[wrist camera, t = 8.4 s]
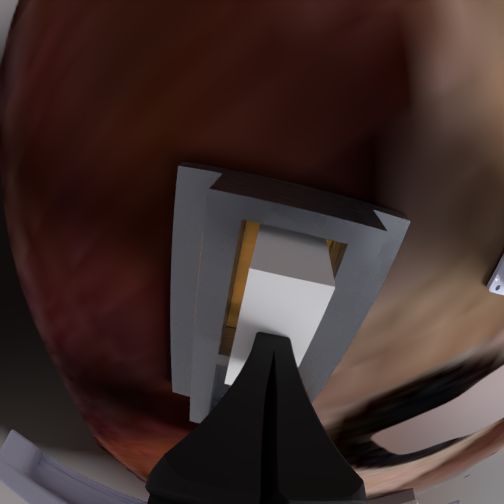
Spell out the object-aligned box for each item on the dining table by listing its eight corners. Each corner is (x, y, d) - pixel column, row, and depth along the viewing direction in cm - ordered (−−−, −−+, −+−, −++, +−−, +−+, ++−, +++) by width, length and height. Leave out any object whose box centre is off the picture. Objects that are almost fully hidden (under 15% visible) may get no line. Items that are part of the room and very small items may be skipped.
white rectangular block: (322, 226, 14) (335, 286, 10) (287, 327, 17) (283, 394, 13) (263, 212, 14) (249, 268, 10) (239, 317, 17) (224, 383, 13)
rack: (404, 213, 14) (429, 244, 11) (301, 409, 24) (299, 440, 21) (184, 161, 14) (157, 179, 11) (175, 383, 24) (164, 413, 21)
